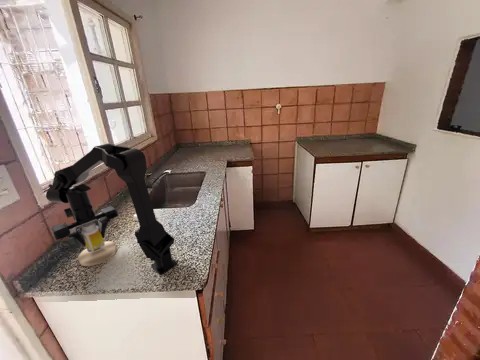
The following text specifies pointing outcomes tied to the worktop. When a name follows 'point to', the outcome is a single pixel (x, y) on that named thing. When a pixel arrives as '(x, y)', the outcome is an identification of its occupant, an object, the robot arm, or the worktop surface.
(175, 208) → the worktop surface
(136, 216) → the soap
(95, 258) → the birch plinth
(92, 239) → the supplement bottle
